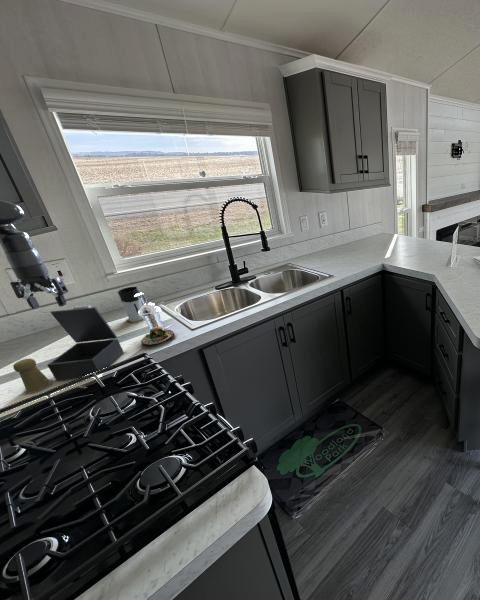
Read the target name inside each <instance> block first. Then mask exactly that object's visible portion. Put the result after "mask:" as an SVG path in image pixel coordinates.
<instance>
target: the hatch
mask: <svg viewBox="0 0 480 600" xmlns="http://www.w3.org/2000/svg"><path fill="white" fill-rule="evenodd" d="M50 314H51V315H52V316H53V318H54V319H55V320H56V321H57V322H58V324H59V325H60V326H61V327H62V329H63V330H65V332H66V333H67V334H68V335H69V336H70V338H71V339H72V340H73V341H74V342H75V344H77V343H83V342H92V341H102V340H111V339H118V336H117V334H116V333H115V331H114V330H113V329H112V327H111V326H110V325H109V323H108V322H107V321H106V320H105V318H104V317H103V315H102V314H101V313H100V311H99V310H98V308H97V307H96V306H94V307H92V305H90V304H88V305H77V306H73V308H71V309H61V310H52V311H50Z"/></svg>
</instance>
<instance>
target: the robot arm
mask: <svg viewBox="0 0 480 600" xmlns="http://www.w3.org/2000/svg"><path fill="white" fill-rule="evenodd" d="M24 218H25V211H24V210H23V209H22V208H21V207H20V206H19V205H18V204H16V203H14V202H11V201H7V200H0V247H1V250H2V251H3V253H4V256H5V258H6V260H7V262H8V264H9V266H10V269H11V270H12V271H13V274H14V275H15V277H16V280H13V281H11V282H10V286H11V288H12V290H13V292H14V294H15V296H16V298H18V299H23V300H26V303H27V304H28V306H29V307H30V308H31V309H32V310H36V309H38V308H39V307H40V304H39V302H38V300H37V298H36V297H35V294H36V293H39V292H40V293H43V292H45V293H47V294H50V295H52V296H54V299H55V301H56V303H57V305H58V307H61V308H62V307H64V306H66V305H67V300H66V298H65V296H64V295H65V294H67V293H69V289H68V288H67V286H66V284H65V282H64V280H63V279H62V277H61V276H56V277H50V276H49V270H48V268H47V266H46V265H45V262H44V261H43V258H42V256H41V255H40V253H39V252H38V250H37V249H36V247H35V245H34V242H33V241H32V239H31V237H30V235H29V234H28V233H27V232H26V231H23V230H19V229H18V228H16V227H15V226H14V225H15V224H18V223H21V222H22V221H23V220H24Z"/></svg>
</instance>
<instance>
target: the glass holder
mask: <svg viewBox="0 0 480 600" xmlns="http://www.w3.org/2000/svg"><path fill="white" fill-rule="evenodd" d="M139 293H140V291H139V288H138V287H137V286H128V287H123V288H121V289H119V290H118V291H117V294H118V295H119V298H120V302H121V304H122V306H123V308H124V311H125V312H126V315H127V316H128V322H131V323H132V322H133V323H134V322H140V321H143V320H144V319H143V318H142V316H139V315H138V312H139V311H140V307H141V306H142V305H143V304H145V301H144V299H143V296H142V295H139V296H136V297H133V296H134V295H137V294H139ZM146 301H147V299H146ZM147 302H148V301H147Z"/></svg>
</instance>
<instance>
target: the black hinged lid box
mask: <svg viewBox="0 0 480 600" xmlns="http://www.w3.org/2000/svg"><path fill="white" fill-rule="evenodd" d="M124 354H125V351H124V350H123V347H122V346H121V343H120V341H119V339H118V338H115V339H106V340H97V341H87V342H78V343H75V344H74V345H73V346H71V347H70V348H68V349H67V350H66V351H64V352H63V353H61V354H60V355H59V356H57V357H56V358H55V359H53V360H52V361H50V362H49V363H48V364H46V365H47V366H46V367H48V369H49V370H50V372H51V374H52V375H53V377H54V379H55V381H62V380H70V379H78V378H83V377H82V376H85V375H87V374H90V373H93V372H96V371H99V370H102V369H103V368H106V367H108V368H110V367H111V366H112V365H113V364H114V363H115V362H116V361H117V360H118V359H120V358H121V356H123V355H124ZM109 366H110V367H109Z"/></svg>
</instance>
